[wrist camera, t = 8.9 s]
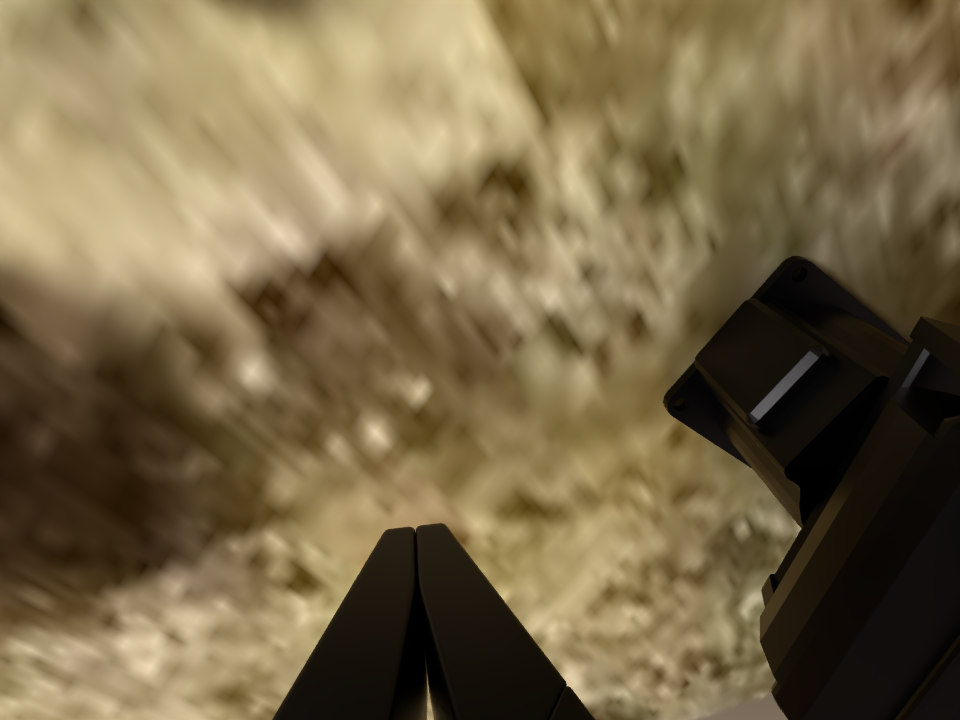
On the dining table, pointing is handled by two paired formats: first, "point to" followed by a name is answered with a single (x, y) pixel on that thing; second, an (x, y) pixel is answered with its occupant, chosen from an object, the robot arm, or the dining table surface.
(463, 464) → the dining table surface
